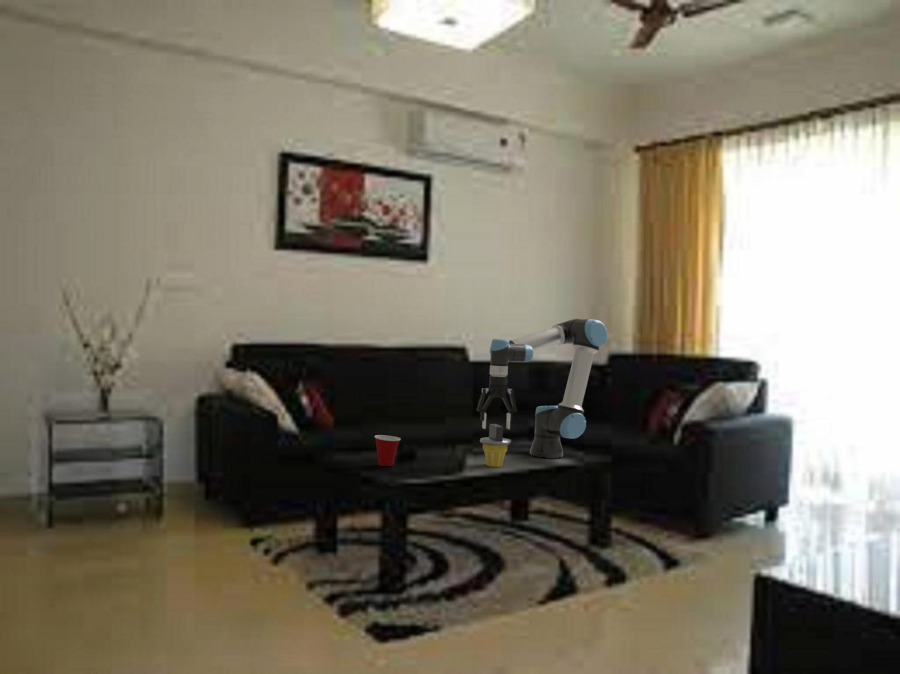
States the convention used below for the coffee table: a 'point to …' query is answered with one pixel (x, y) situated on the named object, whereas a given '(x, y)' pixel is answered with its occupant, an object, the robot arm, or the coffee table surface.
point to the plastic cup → (386, 449)
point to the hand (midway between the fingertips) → (496, 428)
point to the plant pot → (494, 454)
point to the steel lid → (495, 436)
